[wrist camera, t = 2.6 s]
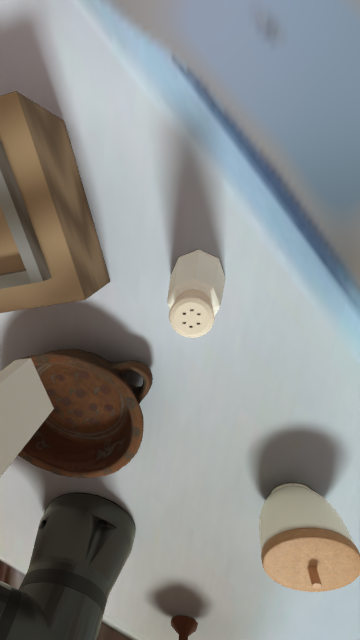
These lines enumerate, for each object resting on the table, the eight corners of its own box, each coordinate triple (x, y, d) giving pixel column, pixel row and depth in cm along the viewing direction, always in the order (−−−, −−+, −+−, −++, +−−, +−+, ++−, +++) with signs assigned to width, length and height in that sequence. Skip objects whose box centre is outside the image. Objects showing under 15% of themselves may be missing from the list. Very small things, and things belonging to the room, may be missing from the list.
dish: (191, 415, 33) (188, 448, 29) (62, 465, 39) (43, 499, 35) (111, 300, 28) (92, 317, 24) (-22, 377, 34) (-58, 403, 30)
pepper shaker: (170, 248, 25) (146, 272, 15) (227, 250, 25) (241, 276, 15) (170, 301, 27) (148, 354, 17) (222, 304, 27) (232, 360, 17)
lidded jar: (334, 469, 34) (377, 557, 25) (331, 522, 38) (367, 614, 29) (249, 471, 36) (262, 555, 27) (255, 522, 39) (267, 609, 31)
